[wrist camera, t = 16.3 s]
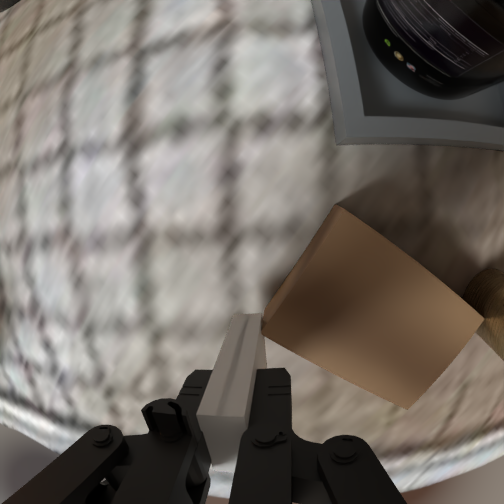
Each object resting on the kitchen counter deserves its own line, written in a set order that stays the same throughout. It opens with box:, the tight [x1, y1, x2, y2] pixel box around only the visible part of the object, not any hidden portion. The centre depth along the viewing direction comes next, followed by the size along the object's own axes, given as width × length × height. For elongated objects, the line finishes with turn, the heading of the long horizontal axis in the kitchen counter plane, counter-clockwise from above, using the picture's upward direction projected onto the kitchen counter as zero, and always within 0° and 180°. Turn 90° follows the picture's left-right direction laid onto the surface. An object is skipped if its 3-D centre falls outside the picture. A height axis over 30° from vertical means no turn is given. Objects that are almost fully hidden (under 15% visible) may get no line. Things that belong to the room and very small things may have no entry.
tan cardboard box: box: [261, 204, 484, 410], centre depth 13 cm, size 6×9×2 cm, turn 59°
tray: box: [311, 0, 504, 151], centre depth 9 cm, size 11×11×2 cm
